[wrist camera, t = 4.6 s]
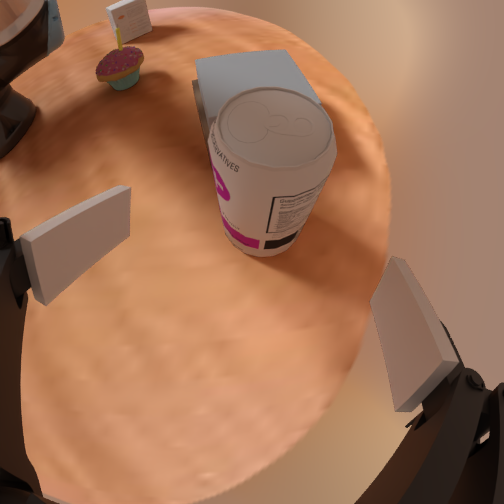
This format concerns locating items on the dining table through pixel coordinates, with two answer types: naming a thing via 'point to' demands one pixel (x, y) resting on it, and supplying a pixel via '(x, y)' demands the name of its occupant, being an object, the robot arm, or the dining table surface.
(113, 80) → the cupcake
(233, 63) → the tower top slab
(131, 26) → the small box
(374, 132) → the dining table surface
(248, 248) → the supplement can
